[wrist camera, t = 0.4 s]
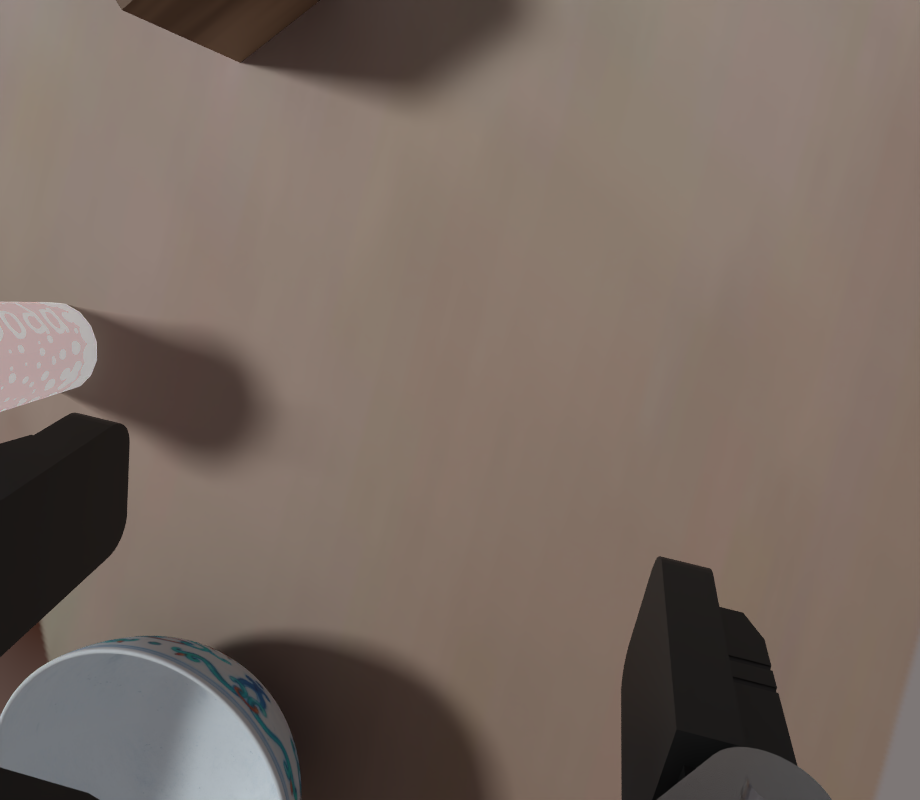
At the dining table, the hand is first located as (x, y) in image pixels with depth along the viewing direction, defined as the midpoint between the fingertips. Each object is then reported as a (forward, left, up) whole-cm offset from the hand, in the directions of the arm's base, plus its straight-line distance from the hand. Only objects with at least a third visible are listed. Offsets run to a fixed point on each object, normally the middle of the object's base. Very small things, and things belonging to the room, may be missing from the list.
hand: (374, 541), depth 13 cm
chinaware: (+25, -11, -27) cm, 38 cm away
